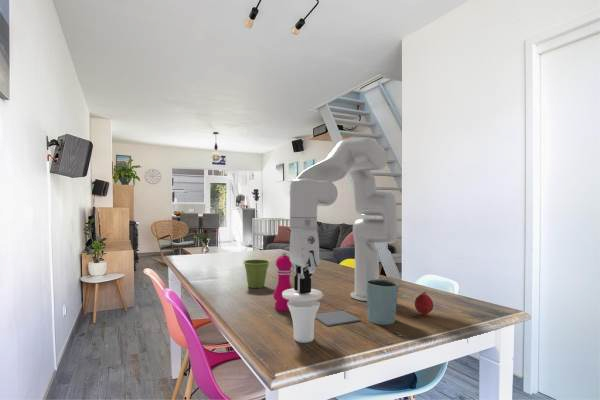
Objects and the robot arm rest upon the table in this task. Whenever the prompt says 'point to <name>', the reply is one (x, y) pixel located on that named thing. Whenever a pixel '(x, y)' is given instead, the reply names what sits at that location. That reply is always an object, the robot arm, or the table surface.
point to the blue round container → (381, 301)
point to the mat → (336, 318)
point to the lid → (297, 296)
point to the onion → (423, 304)
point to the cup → (303, 319)
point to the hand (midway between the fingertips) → (302, 290)
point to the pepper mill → (282, 281)
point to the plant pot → (256, 272)
